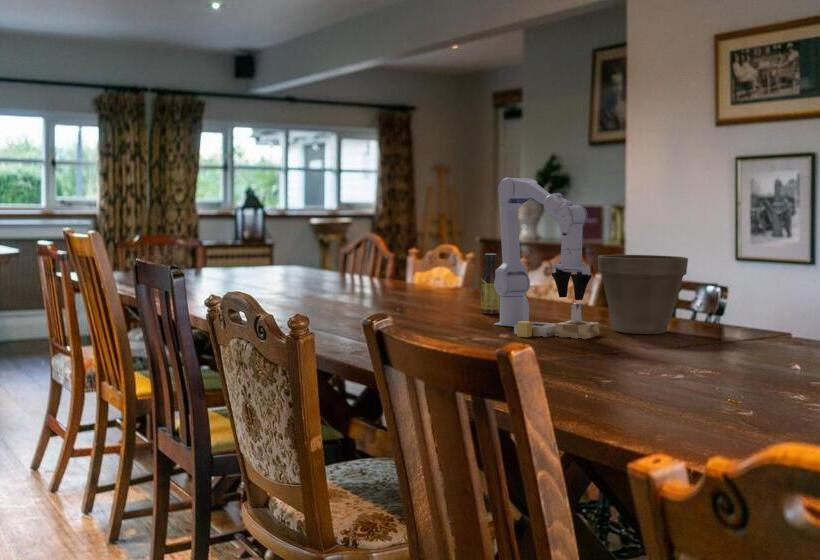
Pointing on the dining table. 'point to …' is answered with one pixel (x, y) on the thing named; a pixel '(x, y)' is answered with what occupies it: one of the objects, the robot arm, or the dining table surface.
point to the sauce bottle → (489, 287)
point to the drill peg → (577, 313)
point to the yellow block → (524, 329)
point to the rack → (577, 330)
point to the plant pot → (641, 290)
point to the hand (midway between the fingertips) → (570, 298)
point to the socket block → (540, 329)
